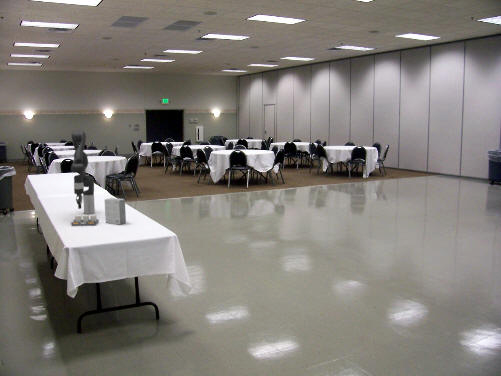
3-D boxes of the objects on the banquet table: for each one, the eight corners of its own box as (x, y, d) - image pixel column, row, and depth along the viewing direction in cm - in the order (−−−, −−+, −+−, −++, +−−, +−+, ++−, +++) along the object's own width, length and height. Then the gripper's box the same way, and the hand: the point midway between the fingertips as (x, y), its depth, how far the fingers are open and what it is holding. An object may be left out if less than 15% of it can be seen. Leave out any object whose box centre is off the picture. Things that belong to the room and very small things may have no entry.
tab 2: (84, 220, 402) (83, 214, 402) (89, 220, 403) (88, 214, 402) (83, 221, 398) (82, 215, 398) (88, 221, 399) (87, 215, 398)
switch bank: (75, 222, 403) (75, 219, 403) (98, 222, 405) (98, 218, 404) (71, 226, 391) (71, 222, 390) (95, 225, 393) (95, 222, 392)
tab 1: (76, 220, 402) (76, 215, 401) (81, 220, 402) (81, 214, 401) (75, 221, 398) (75, 216, 397) (80, 221, 398) (80, 216, 398)
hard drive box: (126, 222, 402) (125, 199, 399) (120, 224, 396) (119, 200, 392) (111, 221, 409) (110, 197, 406) (105, 223, 402) (104, 199, 399)
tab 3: (91, 220, 403) (91, 214, 402) (96, 220, 403) (96, 214, 403) (90, 221, 399) (90, 215, 398) (95, 221, 399) (95, 215, 399)
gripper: (76, 186, 409) (77, 207, 412) (72, 189, 396) (73, 210, 399) (85, 186, 410) (86, 207, 413) (81, 189, 397) (82, 210, 400)
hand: (79, 208), depth 406 cm, fingers closed
